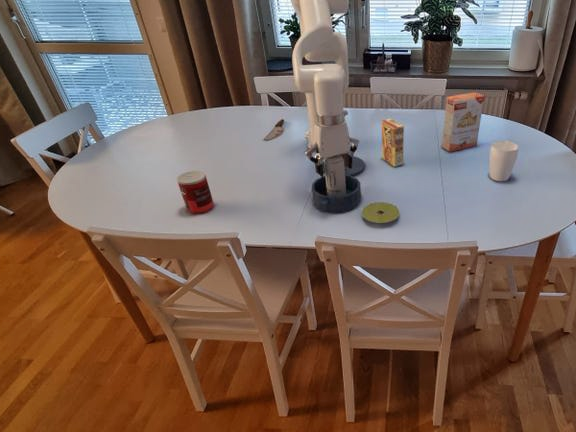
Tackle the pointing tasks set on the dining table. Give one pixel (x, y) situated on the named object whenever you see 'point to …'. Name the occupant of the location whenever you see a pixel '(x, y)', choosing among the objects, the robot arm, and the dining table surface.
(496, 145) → the cup
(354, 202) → the pan
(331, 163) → the energy drink can
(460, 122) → the cracker box
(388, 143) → the candy box
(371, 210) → the olive green disc
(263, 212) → the dining table surface
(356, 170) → the pan lid
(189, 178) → the canned food
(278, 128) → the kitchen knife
